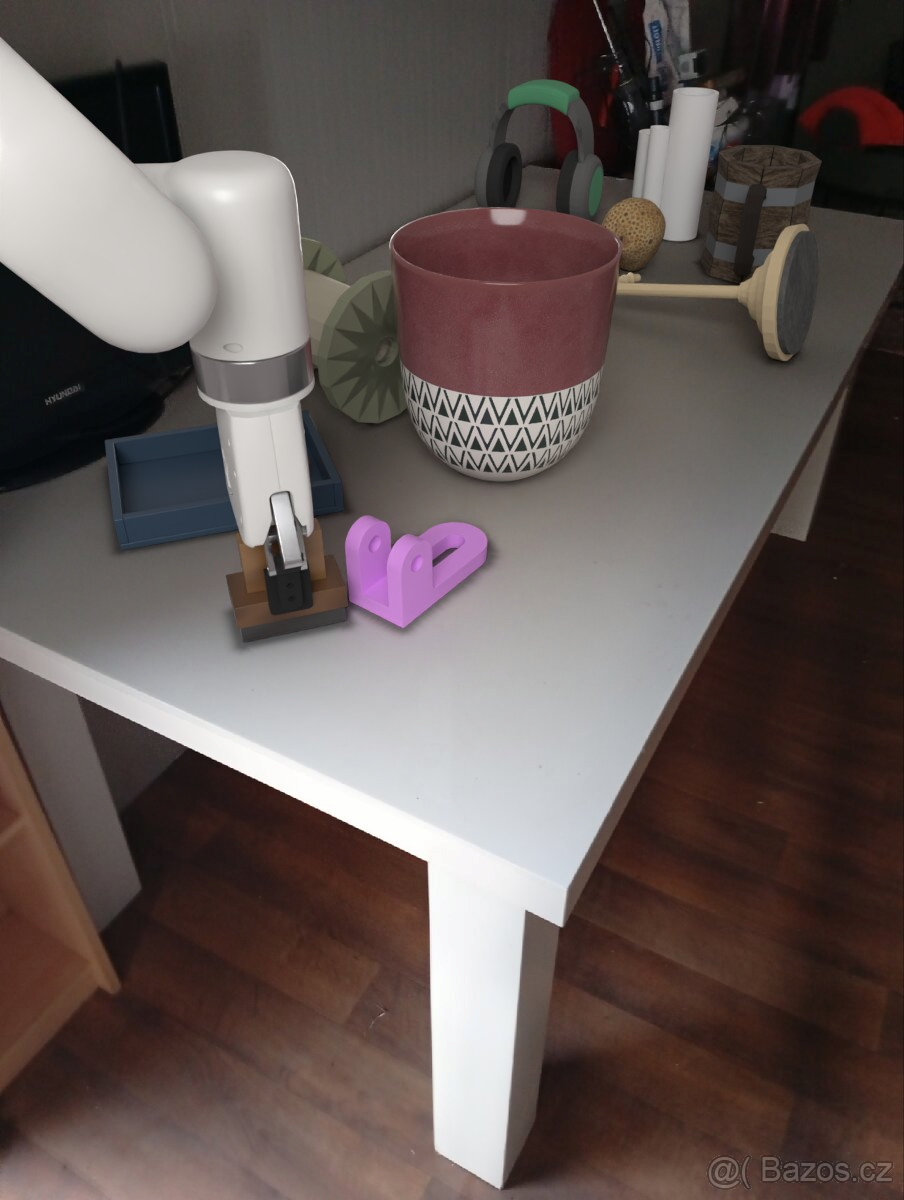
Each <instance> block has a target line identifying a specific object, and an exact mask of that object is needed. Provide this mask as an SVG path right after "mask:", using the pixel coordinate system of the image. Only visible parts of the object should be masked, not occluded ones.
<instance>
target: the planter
mask: <svg viewBox="0 0 904 1200" xmlns="http://www.w3.org/2000/svg"><path fill="white" fill-rule="evenodd" d="M622 251H623V247H622V243H621V241H620V239H619V238H618V237H617V236H616V235H615V234H614V233H613V232H612V231H610V230H609V229H607V228H605V227H603V226H601V224H599V223H597V222H595V221H593V220H592V221H590V220H587V219H584V218H580V217H577V216H573V215H569V214H564V213H559V212H556V211H553V210H552V211H551V210H544V209H536V208H527V207H526V208H525V207H515V208H503V207H497V208H479V207H475V208H465V209H464V208H463V209H456V210H450V211H449V210H448V211H444V212H440V213H435V214H431V215H427V216H424V217H420V218H417V219H416V220H413V221H411V222H408V223H407V224H405V225H402V226H401V227H400V228H399V229H398V230H396V231H395V232H394V234H393V235H392V236H391V238H390V241H389V258H390V259H389V260H390V271H391V274H392V284H393V293H394V303H395V314H396V326H397V338H398V348H399V357H400V367H401V378H402V385H403V392H404V397H405V401H406V404H407V408H406V409H407V411H408V415H409V417H410V420H411V423H412V425H413V427H414V429H415V432H416V433H417V435H418V437H419V438H420V440H421V441H422V442H423V444H424V445H425V446H426V448H427V449H428V450H429V451H430V453H432V454H433V455H434V456H435V457H436V458H437V459H439V460H440V461H441V462H442V463H443V464H445V465H446V466H448V467H449V468H451V469H453V470H454V471H457V472H458V473H460V474H463V475H464V476H468V477H470V478H473V479H476V480H480V481H487V482H514V481H519V480H523V479H526V478H530V477H533V476H535V475H537V474H539V473H543V471H546V470H547V469H549V468H551V467H552V466H554V465H555V464H557V463H558V462H559V461H561V460H562V459H563V458H565V456H566V455H568V453H569V452H571V451H572V450H573V448H574V447H575V446H576V445H577V443H578V442H580V440H581V438H582V436H583V435H584V434H585V433H584V432H585V431H586V429H587V427H588V425H589V422H590V420H591V418H592V417H593V413H594V411H595V408H596V405H597V401H598V397H599V393H600V390H601V383H602V378H603V372H604V368H605V361H606V356H607V350H608V345H609V339H610V332H611V326H612V319H613V313H614V307H615V303H616V296H617V295H616V291H617V286H618V280H619V277H620V272H621V259H622Z"/></svg>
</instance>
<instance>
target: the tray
mask: <svg viewBox="0 0 904 1200" xmlns="http://www.w3.org/2000/svg"><path fill="white" fill-rule="evenodd" d="M301 411H302V419H303V426H304V430H305V441H306V449H307V457H308V459H309V461H310V474H309V475H310V484H311V494H312V505H313V517H317V516H322V515H327V514H332V513H339V512H344V511H345V506H344V492H343V482H342V479H341V477H340V475H339V472H338V470H337V469H336V467H335V465H334V463H333V461H332V458H331V455H330V454H329V452H328V450H327V448H326V446H325V444H324V441H323V439H322V437H321V436H320V433H319V431H318V429H317V427H316V425H315V423H314V420H313V419H312V417H311V414H310V412H309V410H308V409H303V410H301ZM104 447H105V455H106V456H105V457H106V464H107V465H106V466H107V474H108V484H109V493H110V504H111V510H112V521H113V524H114V528H115V532H116V536H117V540H118V544H119V548H120V550H121V551H125V550H131V549H137V548H143V547H147V546H153V545H159V544H164V543H170V542H177V541H182V540H187V539H193V538H198V537H205V536H210V535H215V534H220V533H226V532H227V533H228V532H232V531H237V530H238V531H239V528H238V525H237V522H236V518H235V515H234V512H233V508H232V505H231V501H230V497H229V494H228V489H227V484H226V477H225V469H224V462H223V455H222V449H221V443H220V437H219V430H218V424H217V422H216V423H210V424H203V425H197V426H189V427H183V428H176V429H175V428H174V429H169V430H163V431H157V432H149V433H142V434H136V435H129V436H122V437H116V438H111V439H105V440H104Z"/></svg>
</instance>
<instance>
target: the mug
mask: <svg viewBox="0 0 904 1200" xmlns="http://www.w3.org/2000/svg"><path fill="white" fill-rule="evenodd" d="M822 163H823V161H822V160H821V159H819V158H818V157H817V156H816V155H814V154H813V153H812V152H811V151H807V150H802V149H799V148H794V147H793V148H792V147H787V146H781V145H776V144H749V145H748V144H747V145H745V144H743V145H742V144H738V145H735V146H732V147H729V148H725V149H723V150H720V151H718V156H717V172H716V177H715V186H714V189H713V192H712V193H713V194H712V198H711V201H710V205H709V209H708V210H709V211H708V220H707V221H708V223H707V233H706V238H705V245H704V249H703V252H702V256H701V259H700V264H701V266H702V267H703V269H704V270H705V272H706V274H707V275H708V276H710V277H713V278H717V279H721V280H724V281H729V282H732V283H734V284H739V285H740V284H741V283H742V282H745V281H746V280H748V279H750V278H752V276H753V274H754V272H755V270H756V269H757V268H758V267H760V266H762V265H764V263H765V260H766V258H767V257H768V255H769V254H770V253H771V252H772V251H773V250H774V247H775V245H776V242H777V240H778V238H779V236H780V234H781V233H782V231H783V230H784V229H785V228H786V227H789V226H793V225H798V224H805V225H806V226H807V227H808V222H809V218H810V211H811V204H812V203H811V202H812V198H813V197H812V196H813V193H814V187H815V183H816V180H817V177H818V174H819V171H820V168H821V166H822Z"/></svg>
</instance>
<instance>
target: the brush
mask: <svg viewBox="0 0 904 1200" xmlns="http://www.w3.org/2000/svg"><path fill="white" fill-rule="evenodd" d="M273 529H276V528H275V526H271V527H270V528H269V530H273ZM322 530H323V529H322V528H321V524H320V523H319V520H318V518H314V530H313V532H312V533H311V534H310V536H309V537H306V536H305V534H304V535H303V540H304V546H305V553H306V559H307V561H308V564H309V570H310V579H311V588H312V596H313V606H312V607H311V608H309V609H305V610H300V611H295V612H290V613H285V614H280V615H272V614H271V612H270V609H269V604H268V597H267V591H266V584H265V578H264V571H263V569H265V568H267V565H266V559H265V553H264V547H263V545H258V546H254V548H251V547H249V546H247V545H246V544H245V543H244V542H243V540H242V538H241V535H240V532H239V531H238V532H236V533H235V536H236V537H235V538H236V543H237V548H238V553H239V561H240V565H241V571H239V572H233V573H228V574H226V575H225V580H226V586H227V591H228V596H229V600H230V603H231V608H232V611H233V615H234V619H235V623H236V627H237V629H238V630H239V633H240V636H241V640H242V642H243V643H248V642H252V641H257V640H261V639H266V638H270V637H275V636H281V635H284V634H285V635H286V634H289V633H294V632H300V631H305V630H309V629H313V628H318V627H323V626H328V625H332V624H337V623H341V622H347V612H346V607H349V602H348V590H347V589H348V588H347V584H346V582H345V579H344V578H343V576H342V572H341V570H340V568H339V565H338V563H337V560H336V558H335V556H334V554H326V555H325V551H324V542H323V531H322ZM272 548H273V554H274V556H275V553H279V552H280V548H279V543H278V542H277V543H272Z"/></svg>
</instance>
